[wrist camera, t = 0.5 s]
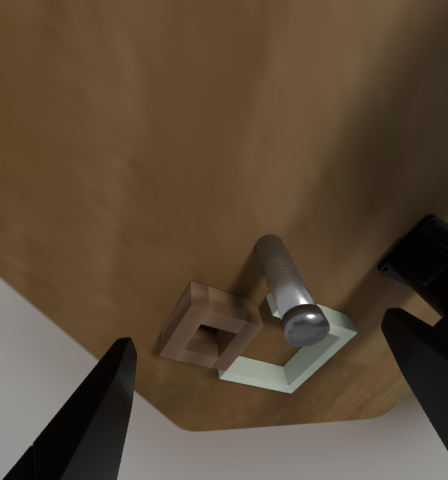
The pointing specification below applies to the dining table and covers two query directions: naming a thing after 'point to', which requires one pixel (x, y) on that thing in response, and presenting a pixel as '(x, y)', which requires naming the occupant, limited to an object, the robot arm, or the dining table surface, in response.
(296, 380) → the open c-shaped clip
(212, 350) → the walnut block
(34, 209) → the dining table surface
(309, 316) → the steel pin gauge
